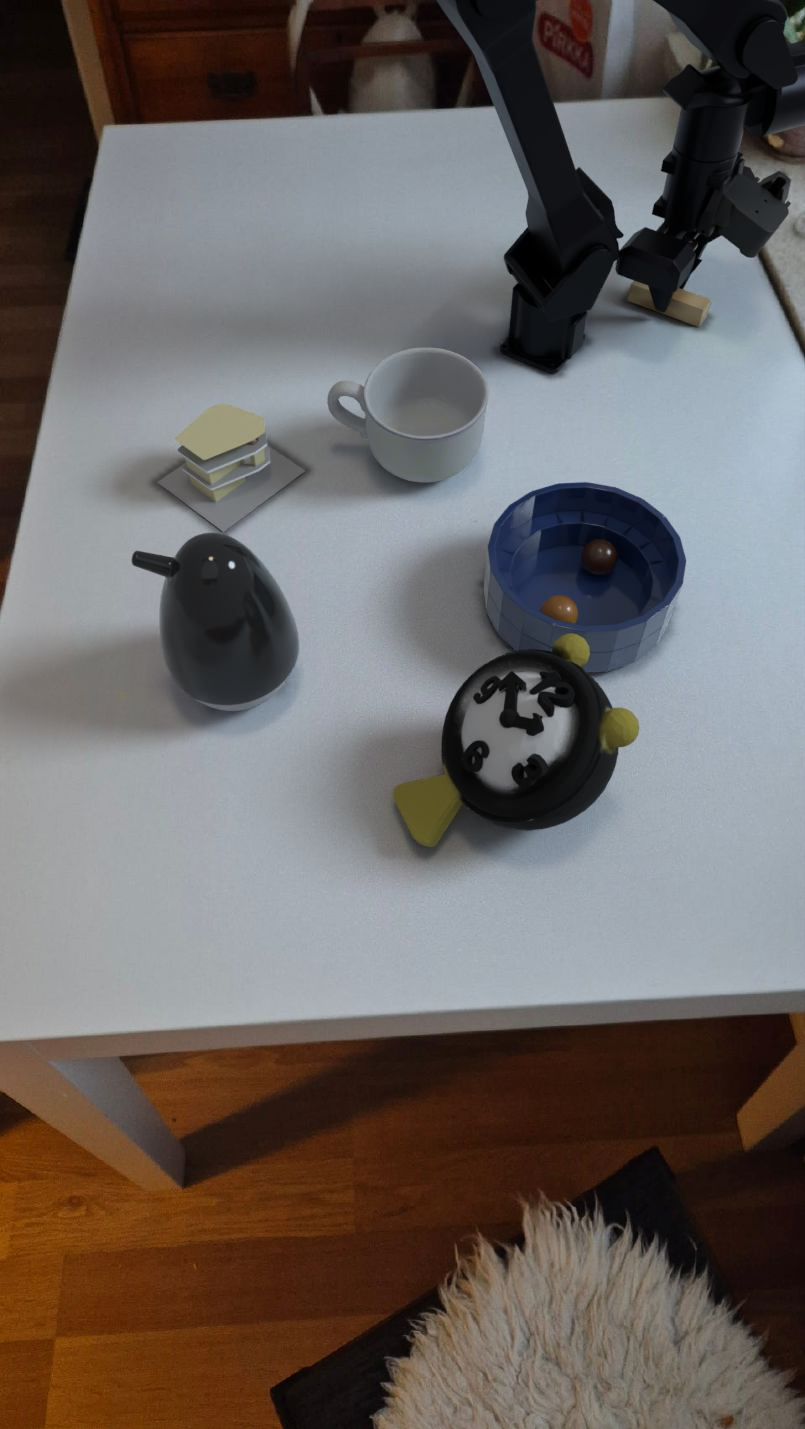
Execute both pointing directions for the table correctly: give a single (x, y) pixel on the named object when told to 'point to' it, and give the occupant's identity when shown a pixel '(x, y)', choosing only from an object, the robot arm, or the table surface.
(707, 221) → the robot arm
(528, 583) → the bowl
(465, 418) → the teacup
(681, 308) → the stick
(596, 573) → the bead
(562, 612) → the bead
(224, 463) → the stacked layers on plate
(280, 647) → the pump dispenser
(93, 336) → the table surface
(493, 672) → the alarm clock
